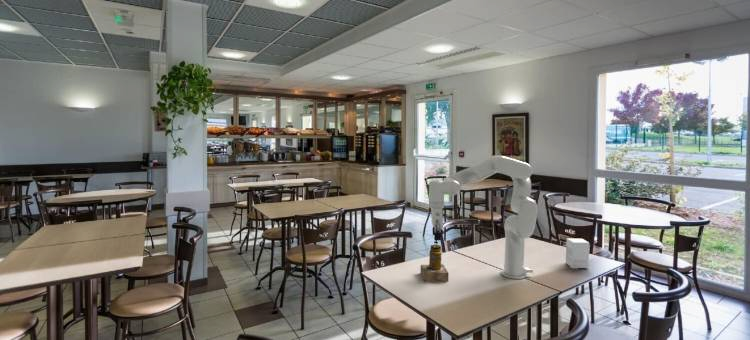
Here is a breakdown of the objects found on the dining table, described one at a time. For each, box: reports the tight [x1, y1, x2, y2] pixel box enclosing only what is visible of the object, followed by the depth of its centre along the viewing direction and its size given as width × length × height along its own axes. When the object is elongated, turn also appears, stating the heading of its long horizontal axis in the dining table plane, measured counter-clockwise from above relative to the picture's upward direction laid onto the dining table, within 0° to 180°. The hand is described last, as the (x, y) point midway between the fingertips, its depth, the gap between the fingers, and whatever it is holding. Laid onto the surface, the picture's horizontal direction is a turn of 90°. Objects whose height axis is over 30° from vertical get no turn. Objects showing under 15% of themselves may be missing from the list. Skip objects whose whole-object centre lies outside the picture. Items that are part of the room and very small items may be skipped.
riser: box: [420, 264, 449, 283], centre depth 194 cm, size 12×12×5 cm
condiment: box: [424, 244, 444, 272], centre depth 193 cm, size 7×8×12 cm
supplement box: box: [565, 238, 590, 269], centre depth 212 cm, size 9×9×15 cm
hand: (436, 237), depth 192 cm, fingers open, 9 cm apart
